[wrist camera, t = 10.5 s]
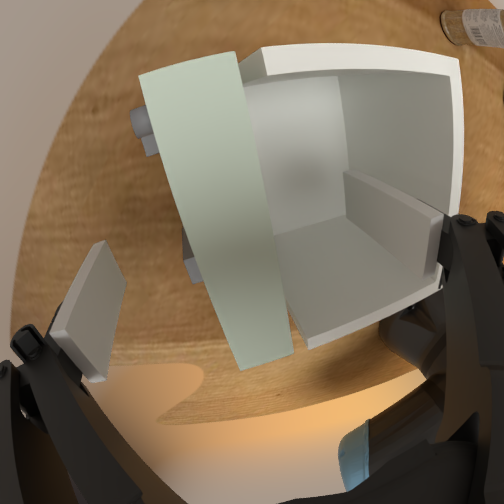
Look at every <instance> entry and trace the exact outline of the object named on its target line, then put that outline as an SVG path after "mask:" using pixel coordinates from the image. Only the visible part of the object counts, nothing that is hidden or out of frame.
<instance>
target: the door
mask: <svg viewBox="0 0 504 504" xmlns="http://www.w3.org/2000/svg"><path fill="white" fill-rule="evenodd" d="M139 80H140V84H141V88H142V92H143V96H144V99H145V103H146V105H144V106H141V107H139V108H136V109H133V110H131V111H130V119H131V123H132V127H133V130H134V132H135V135H136V136H137V138H138V139H139V138H142V137H145V136H148V135H151V134H153V133H154V135H155V139H156V142H157V146H158V149H159V152H160V156H161V159H162V162H163V165H164V169H165V172H166V175H167V178H168V181H169V184H170V187H171V191H172V194H173V197H174V200H175V203H176V206H177V209H178V212H179V214H180V217H181V220H182V223H183V226H184V229H185V232H186V235H187V237H188V240H189V243H190V246H191V249H192V251H193V254H194V257H195V260H196V262H197V265H198V268H199V270H200V273H201V276H202V278H203V281H204V284H205V286H206V289H207V291H208V294H209V296H210V299H211V301H212V304H213V307H214V309H215V312H216V314H217V316H218V319H219V321H220V324H221V326H222V329H223V331H224V334H225V336H226V338H227V341H228V343H229V345H230V348H231V350H232V352H233V355H234V357H235V359H236V362H237V364H238V366H239V369H240V371H242V370H245V369H249V368H252V367H255V366H258V365H262V364H265V363H268V362H271V361H274V360H277V359H280V358H283V357H286V356H289V355H292V354H294V350H293V344H292V337H291V331H290V325H289V319H288V313H287V307H286V302H285V296H284V290H283V284H282V279H281V273H280V267H279V262H278V256H277V251H276V246H275V240H274V235H273V229H272V224H271V219H270V214H269V209H268V203H267V198H266V193H265V188H264V183H263V178H262V173H261V168H260V163H259V159H258V154H257V149H256V144H255V139H254V135H253V130H252V125H251V121H250V116H249V111H248V107H247V102H246V98H245V93H244V89H243V84H242V80H241V76H240V71H239V67H238V63H237V58H236V54H235V51H231V52H226V53H221V54H216V55H211V56H206V57H202V58H197V59H193V60H189V61H185V62H182V63H178V64H174V65H171V66H167V67H164V68H161V69H158V70H154V71H151V72H148V73H145V74H142V75H139Z"/></svg>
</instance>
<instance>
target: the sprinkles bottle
mask: <svg viewBox="0 0 504 504" xmlns="http://www.w3.org/2000/svg"><path fill="white" fill-rule="evenodd" d="M441 24H442V27H443V30H444V32H445V34H446V36H447V37H448V38H449V40H450V41H451V42H452V43H454V44H456V45H465V44H467V45H477V46H490V47H499V48H504V10H503V9H468V10H459V11H444V12H443V13H442V15H441Z"/></svg>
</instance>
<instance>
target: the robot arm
mask: <svg viewBox="0 0 504 504" xmlns="http://www.w3.org/2000/svg"><path fill="white" fill-rule="evenodd" d="M343 180H344V192H345V206H346V218H347V219H348V220H350V221H351V222H352V223H354V224H355V225H356V226H357V227H359V228H360V229H361V230H363V231H364V232H365V233H366V234H368V235H369V236H370V237H371V238H373V239H374V240H375V241H376V242H378V243H379V244H380V245H381V246H382V247H384V248H385V249H386V250H387V251H388V252H390V253H391V254H392V255H393V256H394V257H396V258H397V259H398V260H399V261H400V262H401V263H403V264H404V265H405V266H406V267H407V268H408V269H410V270H411V271H412V272H413V273H414V274H415V275H416V276H417V277H419V278H420V279H421V280H422V281H423V280H425V279H427V278H429V277H431V276H433V275H435V270H436V265H437V262H438V263H439V264H441V265H442V266H443V268H442V272H441V277H440V281H439V286H438V289H440V288H441V285H443V288H442V289H440V290H438V291H437V292H435V293H433V294H431V295H429V296H428V297H426V298H424V299H422V300H420V301H418V302H416V303H414V304H412V305H410V306H408V307H406V308H404V309H402V310H400V311H398V312H396V313H394V314H392V315H390V316H388V317H386V318H384V319H382V320H381V322H380V326H379V335H380V338H381V339H382V341H383V342H384V343H385V345H386V346H387V347H388V348H389V349H390V350H391V351H392V352H394V353H396V354H397V355H399V356H400V357H402V358H403V359H405V360H406V361H408V362H409V363H411V364H413V365H414V366H416V367H417V368H418V369H419V370H420V371H421V372H422V373H423V375H424V376H425V378H426V379H427V380H426V381H425V382H424V383H422V384H421V385H420V386H418V387H417V388H416V389H414V390H413V391H412V392H410V393H409V394H407V395H406V396H405V397H403V398H402V399H401V400H399V401H398V402H396V403H395V404H393V405H392V406H390V407H389V408H387V409H386V410H384V411H383V412H381V413H379V414H378V415H377V416H375V417H373V418H372V419H368V420H366V421H365V423H364V424H362V425H361V426H360V427H358V428H356V429H354V430H353V431H351V432H350V433H348V434H347V435H345V436H344V437H343V439H342V440H341V442H340V445H339V449H338V459H339V466H340V471H341V475H342V479H343V483H344V486H345V489H346V491H347V492H344V493H339V494H333V495H326V496H318V497H310V498H299V499H293V500H290V501H286V502H283V503H279V504H504V264H503V263H502V261H503V257H504V214H503V213H502V212H499V211H490V212H488V213H487V218H486V223H478V222H477V221H476V220H475V219H474V218H472V217H470V216H467V215H462V214H457V215H453V216H452V217H450V216H448V215H446V214H445V213H443V212H441V211H439V210H438V209H436V208H433V207H432V206H430V205H428V204H426V203H425V202H423V201H421V200H419V199H416V198H414V197H412V196H410V195H408V194H406V193H404V192H402V191H400V190H398V189H396V188H394V187H392V186H390V185H388V184H386V183H384V182H382V181H379V180H377V179H375V178H373V177H371V176H369V175H366V174H364V173H362V172H360V171H357V170H355V169H353V170H349V171H344V172H343ZM126 284H127V282H126V280H125V278H124V276H123V275H122V273H121V271H120V269H119V267H118V265H117V262H116V260H115V258H114V256H113V254H112V252H111V250H110V248H109V246H108V243H107V241H106V240H103V241H101V242H98V243H95V244H93V246H92V248H91V250H90V251H89V253H88V255H87V257H86V258H85V260H84V262H83V264H82V266H81V268H80V269H79V271H78V273H77V275H76V277H75V279H74V281H73V283H72V285H71V287H70V289H69V291H68V293H67V295H66V297H65V299H64V300H63V302H62V303H61V304H60V305H59V306H58V308H57V310H56V312H55V316H54V317H53V319H52V321H51V322H52V323H50V326H49V328H48V330H47V333H46V335H45V337H44V338H43V337H42V336H41V334H40V333H39V332H38V330H37V329H36V328H35V326H34V325H33V324H28V325H25V326H24V327H22V328H21V329H19V330H18V331H17V332H16V334H15V335H14V336H13V338H12V340H11V343H10V347H11V348H12V350H13V351H14V352H15V353H16V354H17V356H18V357H19V358H20V359H21V360H22V361H23V363H24V364H22V365H20V366H19V367H15V366H14V365H13V364H12V363H11V362H10V361H9V360H4V361H2V362H1V363H0V504H78V501H77V498H76V496H75V493H74V490H73V487H72V485H71V482H70V479H69V475H68V472H69V474H70V475H71V477H72V479H73V481H74V482H75V484H76V485H77V487H78V489H79V490H80V492H81V494H82V495H83V497H84V498H85V500H86V501H87V503H88V504H187V503H186V502H185V501H184V500H183V499H181V497H180V496H178V495H177V494H176V493H175V492H174V491H173V490H172V489H171V488H170V487H169V486H168V485H167V484H165V483H164V482H163V481H162V480H161V479H160V478H159V477H158V476H157V475H156V474H155V473H154V472H153V471H152V470H151V469H150V467H148V465H146V464H145V462H144V461H143V460H142V459H141V458H140V457H139V456H138V455H137V453H136V452H135V451H134V450H133V449H132V448H131V447H130V445H129V444H128V443H127V442H126V441H125V439H124V438H123V437H122V436H121V434H120V433H119V432H118V431H117V429H116V428H115V427H114V426H113V424H112V423H111V422H110V420H109V419H108V418H107V416H106V415H105V414H104V412H103V411H102V410H101V408H100V407H99V405H98V404H97V403H96V401H95V400H94V398H93V397H92V395H91V394H90V392H89V391H88V389H87V388H86V386H85V385H84V384H83V383H82V382H81V378H82V374H83V375H84V376H85V377H86V378H87V379H88V380H89V381H90V382H91V383H94V382H100V381H106V380H107V374H108V368H109V362H110V356H111V351H112V345H113V340H114V335H115V330H116V326H117V321H118V317H119V312H120V308H121V304H122V300H123V296H124V292H125V288H126ZM21 410H22V411H23V412H24V413H25V414H26V418H25V417H24V415H23V414H22V412H21ZM67 470H68V472H67Z"/></svg>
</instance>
